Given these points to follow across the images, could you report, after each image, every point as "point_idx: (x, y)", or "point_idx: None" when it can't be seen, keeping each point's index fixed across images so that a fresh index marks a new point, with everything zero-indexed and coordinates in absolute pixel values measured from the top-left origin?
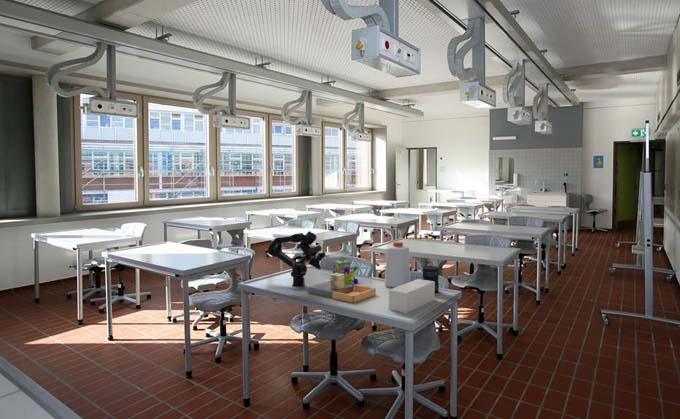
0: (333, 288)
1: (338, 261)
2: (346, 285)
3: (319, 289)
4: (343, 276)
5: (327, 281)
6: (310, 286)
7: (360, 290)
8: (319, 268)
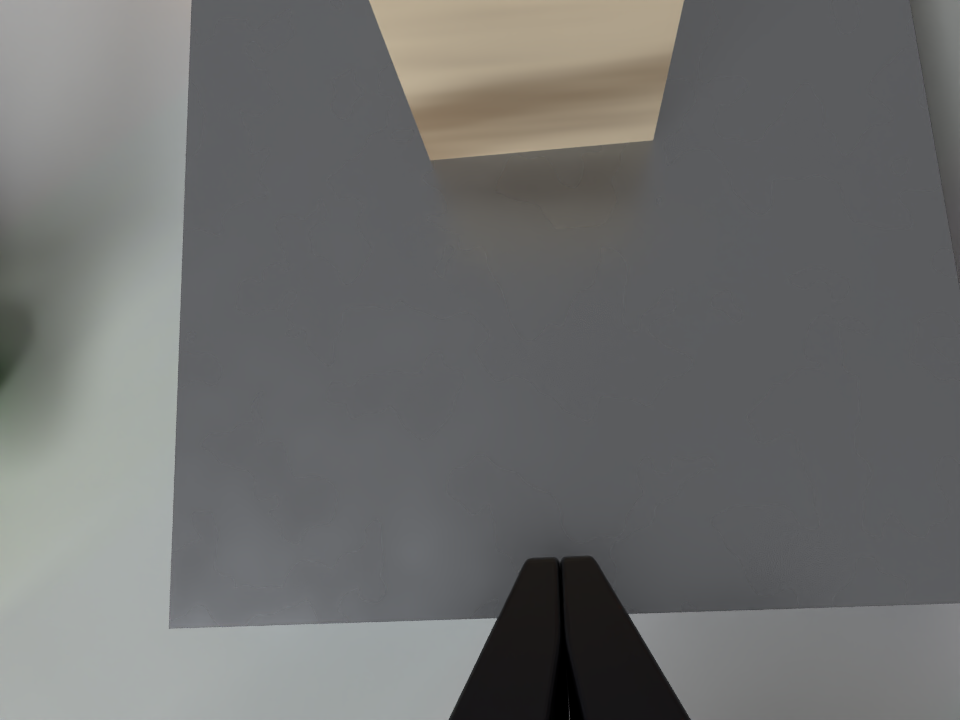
0: None
1: None
2: (278, 33)
3: (944, 207)
4: None
5: (237, 604)
6: (919, 576)
7: None
8: (606, 586)
